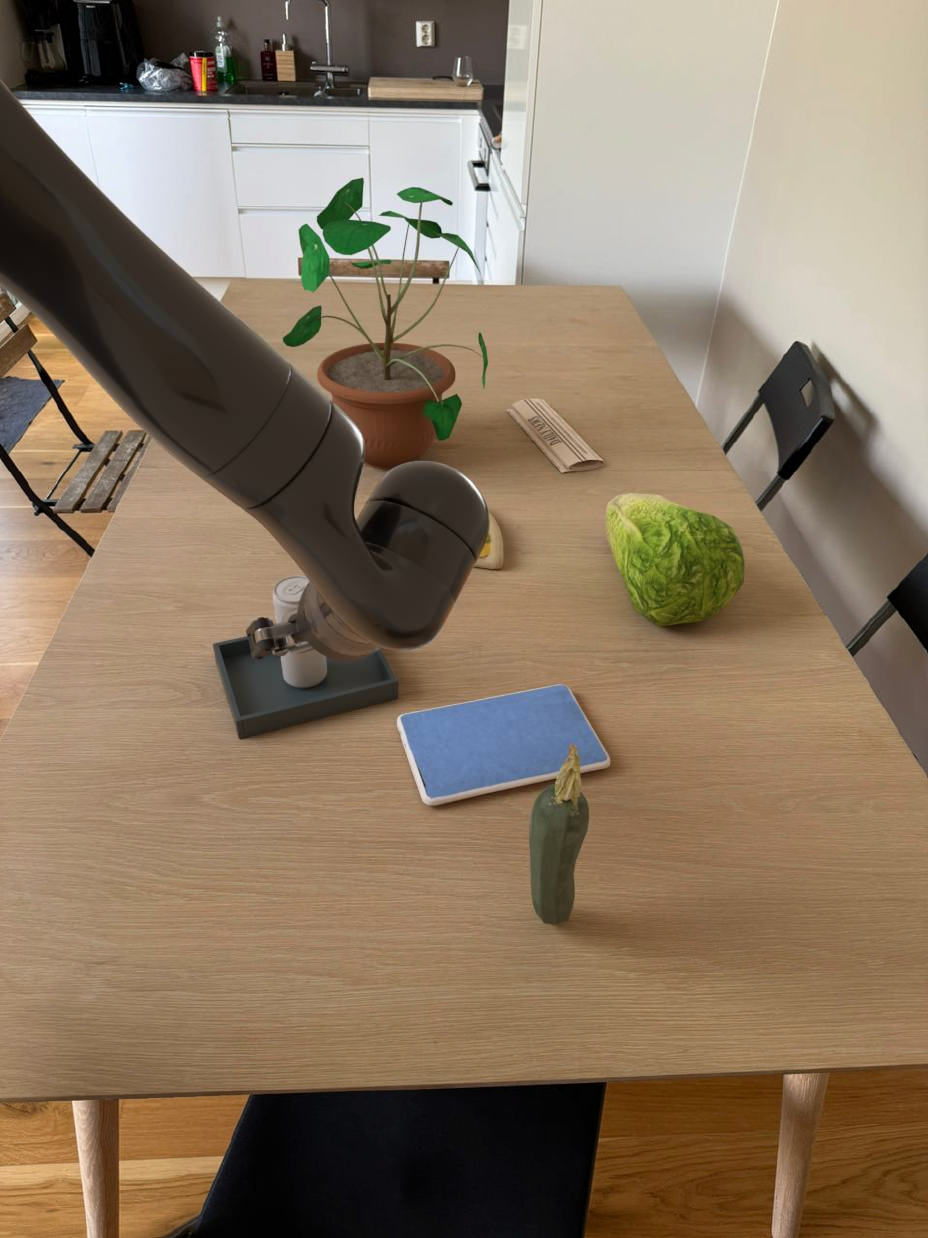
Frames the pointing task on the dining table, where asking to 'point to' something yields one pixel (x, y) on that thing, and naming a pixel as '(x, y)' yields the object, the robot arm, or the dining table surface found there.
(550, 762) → the tablet
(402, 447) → the potted plant
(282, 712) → the serving tray
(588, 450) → the newspaper
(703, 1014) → the dining table surface
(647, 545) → the lettuce
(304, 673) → the beverage can
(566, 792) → the vegetable
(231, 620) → the dining table surface
